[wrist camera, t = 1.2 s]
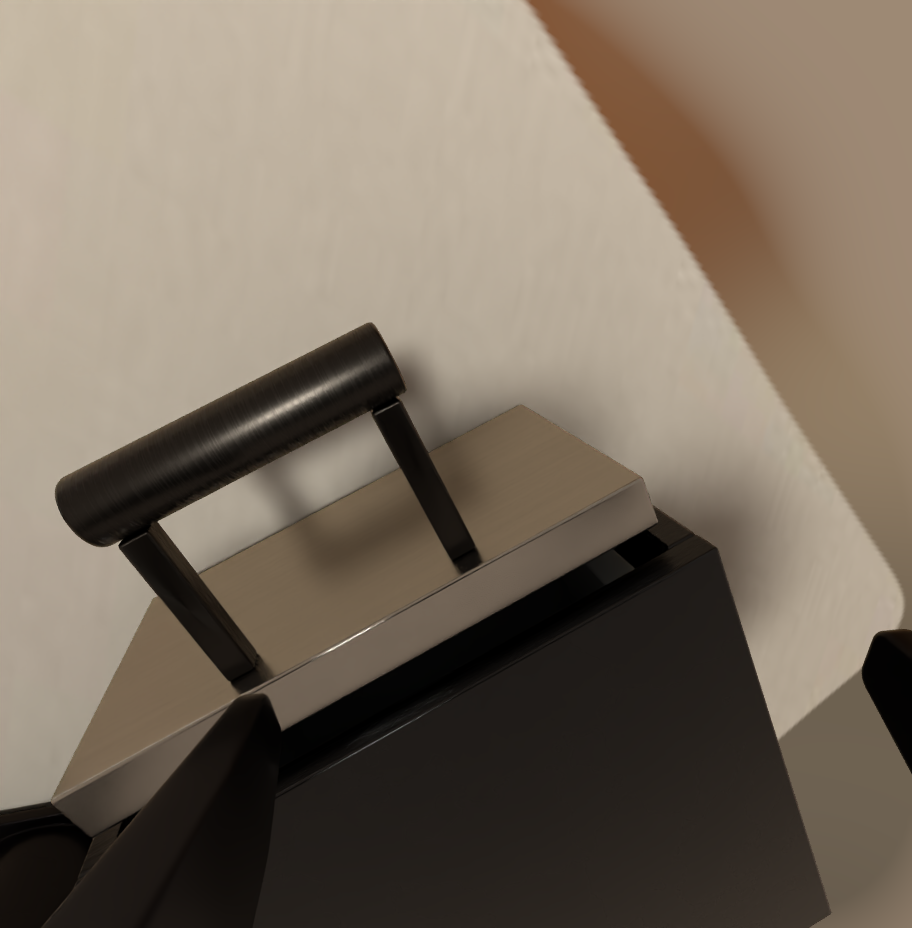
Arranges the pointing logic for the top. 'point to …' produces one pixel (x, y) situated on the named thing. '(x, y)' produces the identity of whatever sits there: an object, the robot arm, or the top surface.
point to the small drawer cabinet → (559, 779)
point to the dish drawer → (330, 566)
